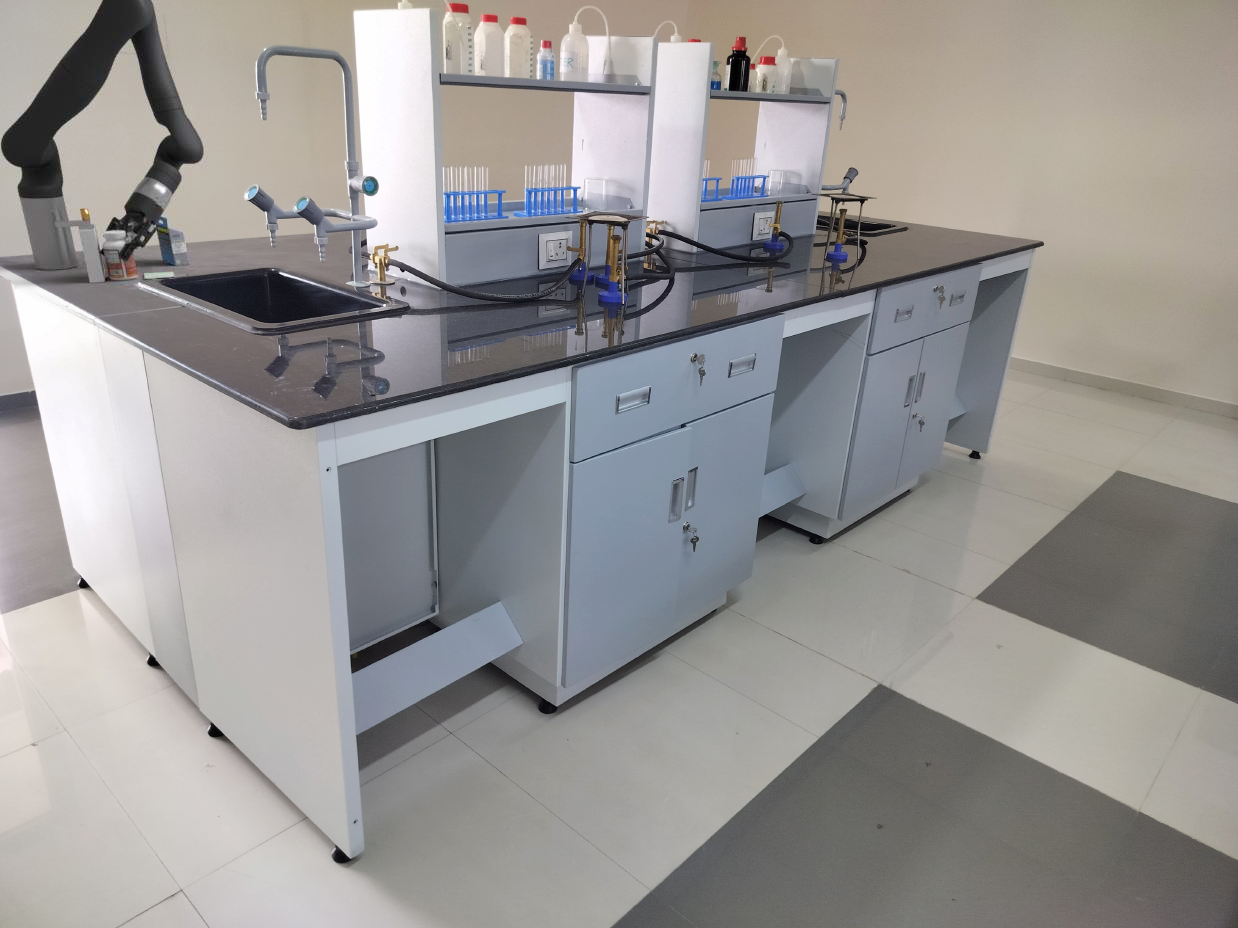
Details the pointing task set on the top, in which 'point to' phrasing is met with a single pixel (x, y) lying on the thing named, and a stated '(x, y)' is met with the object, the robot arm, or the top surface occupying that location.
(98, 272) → the socket panel
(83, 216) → the clip
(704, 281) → the top surface
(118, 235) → the pill bottle
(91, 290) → the top surface
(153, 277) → the mat
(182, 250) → the label tape box
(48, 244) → the robot arm
